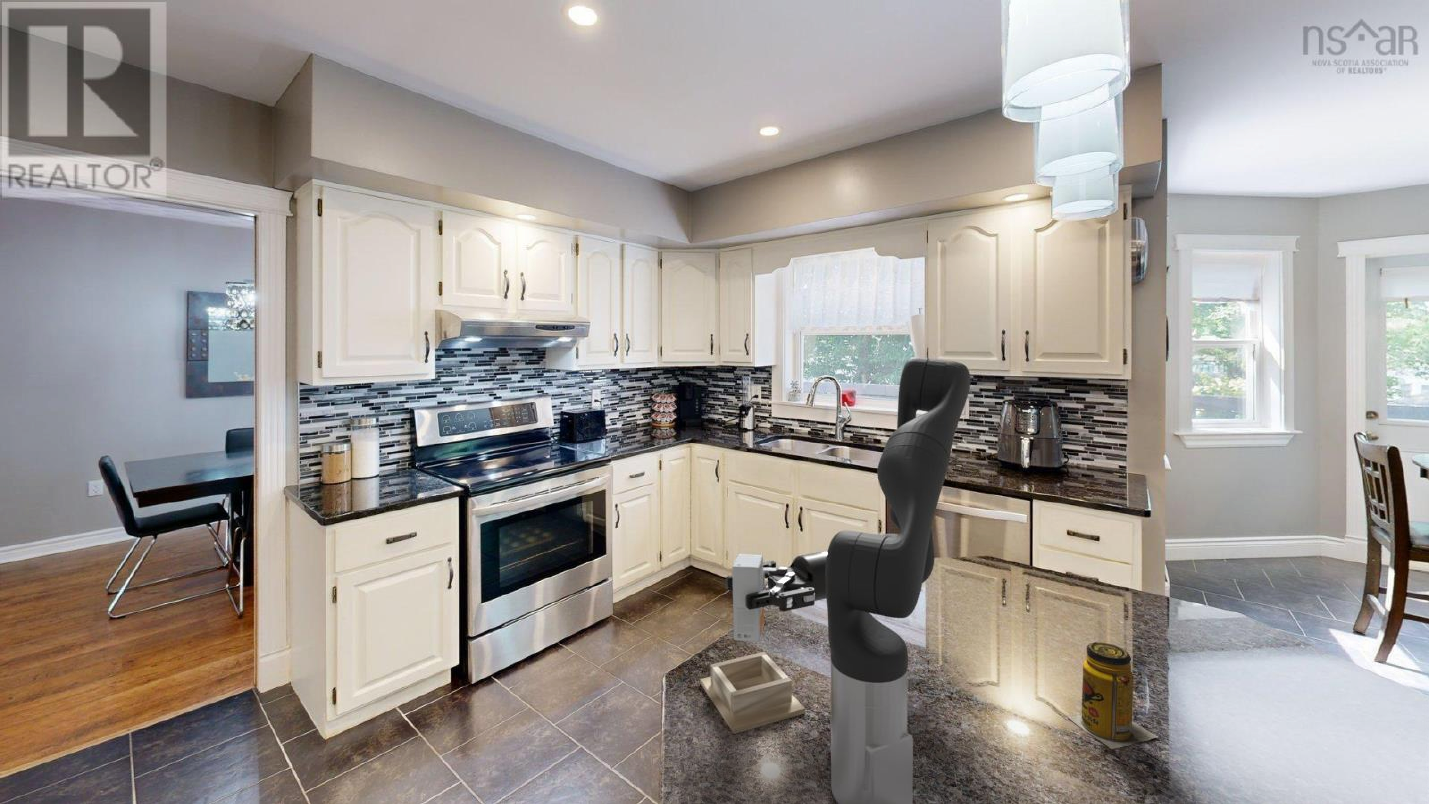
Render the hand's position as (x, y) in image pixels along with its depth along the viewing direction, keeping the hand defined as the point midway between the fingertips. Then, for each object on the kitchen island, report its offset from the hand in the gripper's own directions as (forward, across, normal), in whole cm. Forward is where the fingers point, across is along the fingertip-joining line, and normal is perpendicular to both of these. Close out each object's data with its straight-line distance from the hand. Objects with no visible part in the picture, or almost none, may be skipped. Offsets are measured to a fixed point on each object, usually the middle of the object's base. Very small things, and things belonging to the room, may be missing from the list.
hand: (736, 592), depth 89 cm
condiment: (-47, +28, +19) cm, 58 cm away
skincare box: (-2, 0, +7) cm, 8 cm away
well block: (-2, 0, +18) cm, 18 cm away
